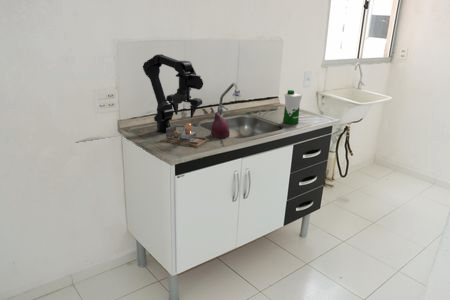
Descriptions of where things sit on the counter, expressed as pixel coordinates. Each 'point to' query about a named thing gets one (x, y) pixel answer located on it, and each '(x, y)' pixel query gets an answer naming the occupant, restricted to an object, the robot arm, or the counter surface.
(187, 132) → the ram
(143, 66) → the robot arm
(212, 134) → the vegetable
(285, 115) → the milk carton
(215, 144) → the counter surface
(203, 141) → the press bench
